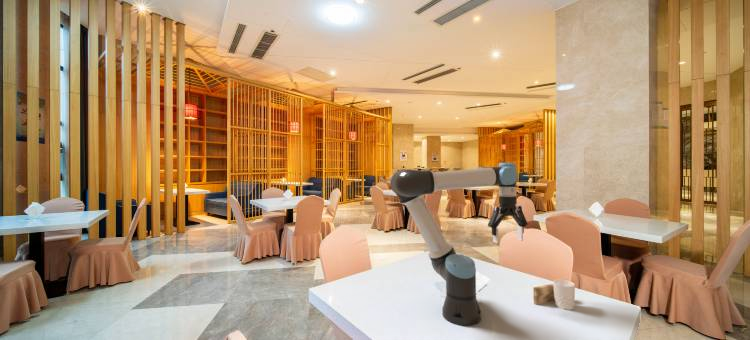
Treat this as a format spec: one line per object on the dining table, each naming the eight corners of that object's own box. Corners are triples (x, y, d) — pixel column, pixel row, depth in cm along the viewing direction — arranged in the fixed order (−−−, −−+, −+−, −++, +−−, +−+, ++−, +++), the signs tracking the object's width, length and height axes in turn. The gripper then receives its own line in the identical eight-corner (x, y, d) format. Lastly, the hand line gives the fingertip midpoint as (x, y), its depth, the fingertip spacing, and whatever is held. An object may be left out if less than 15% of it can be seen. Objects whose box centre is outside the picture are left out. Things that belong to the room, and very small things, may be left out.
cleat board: (541, 307, 124) (541, 290, 124) (533, 303, 128) (533, 287, 128) (569, 301, 129) (569, 285, 129) (561, 297, 132) (561, 282, 132)
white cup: (579, 311, 120) (578, 287, 120) (558, 309, 121) (557, 285, 121) (570, 302, 127) (569, 279, 128) (550, 301, 129) (550, 279, 129)
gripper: (490, 197, 128) (490, 245, 128) (535, 195, 135) (536, 241, 135) (479, 195, 136) (480, 241, 135) (523, 194, 142) (523, 237, 142)
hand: (508, 241), depth 135 cm, fingers open, 13 cm apart
